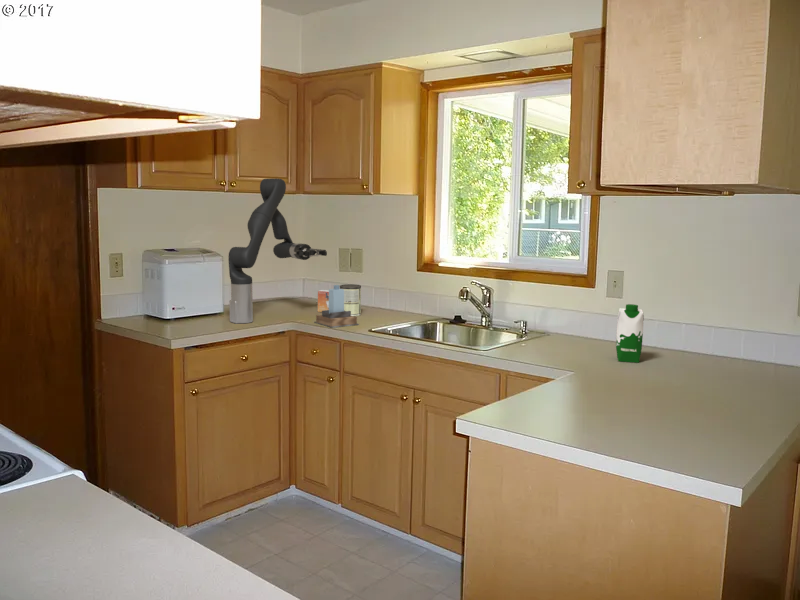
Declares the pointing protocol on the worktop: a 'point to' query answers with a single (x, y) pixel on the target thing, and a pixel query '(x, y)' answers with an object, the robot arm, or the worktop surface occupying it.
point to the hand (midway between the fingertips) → (317, 253)
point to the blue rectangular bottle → (336, 299)
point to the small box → (323, 300)
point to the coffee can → (352, 298)
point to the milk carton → (629, 333)
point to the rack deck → (336, 319)
